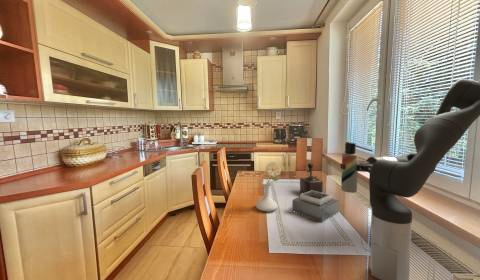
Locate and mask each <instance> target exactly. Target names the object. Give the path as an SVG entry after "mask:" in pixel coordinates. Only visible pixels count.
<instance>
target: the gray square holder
mask: <svg viewBox="0 0 480 280" xmlns="http://www.w3.org/2000/svg"><path fill="white" fill-rule="evenodd" d="M291 203H292V205H291V206H292V210H291V211H292V212H293V211H295V212H294V213H296V212H297V213H296V214H298V213H300V214H299V215H301V214H303V215H302V216H304V215H305V216H304V217H307V216H308V217H307V218H309V217H310V218H309V219H312V218H313V219H312V220H315V219H316V220H315V221H317V220H319V221H318V222H320V221H321V222H320V223H323V221H324V222H326V221H327V220H329V219H330V218H332V217H334V216H335V215H337V214H338V212H339V213H340V200H338V199H335V198H332V195H331V194H328V193H325V192H322V193H321V192H317V191H313V190H311V191H308V192H306V193H303V194H302V193H300V194H299V196H298V197H296V198H294V199H292V202H291ZM336 213H337V214H336ZM333 215H334V216H333ZM331 216H332V217H331ZM329 217H330V218H329ZM328 218H329V219H328ZM326 219H327V220H326Z"/></svg>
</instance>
